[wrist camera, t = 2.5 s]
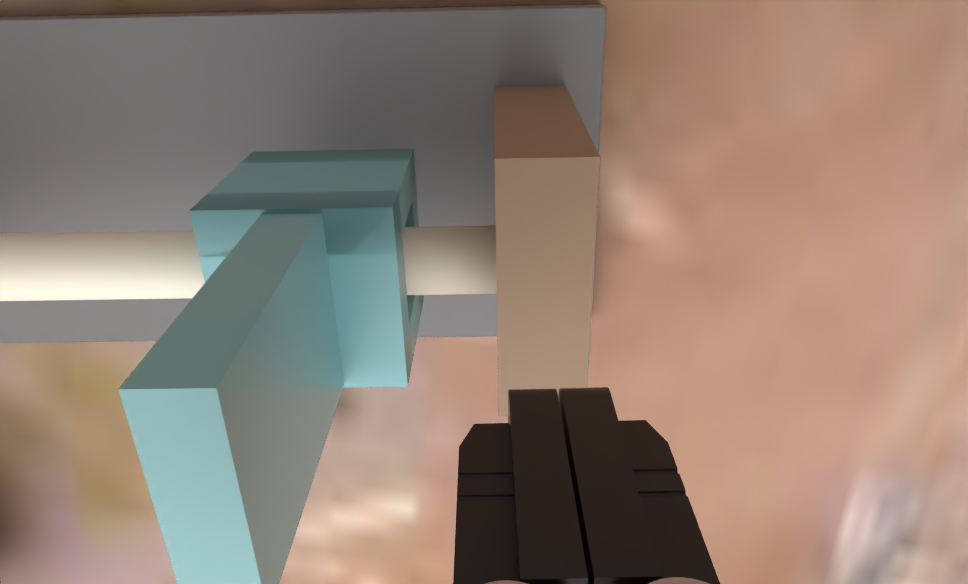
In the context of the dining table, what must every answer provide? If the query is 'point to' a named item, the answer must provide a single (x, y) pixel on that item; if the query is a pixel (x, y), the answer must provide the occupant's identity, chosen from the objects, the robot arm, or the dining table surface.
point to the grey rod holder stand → (306, 127)
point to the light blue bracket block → (272, 351)
